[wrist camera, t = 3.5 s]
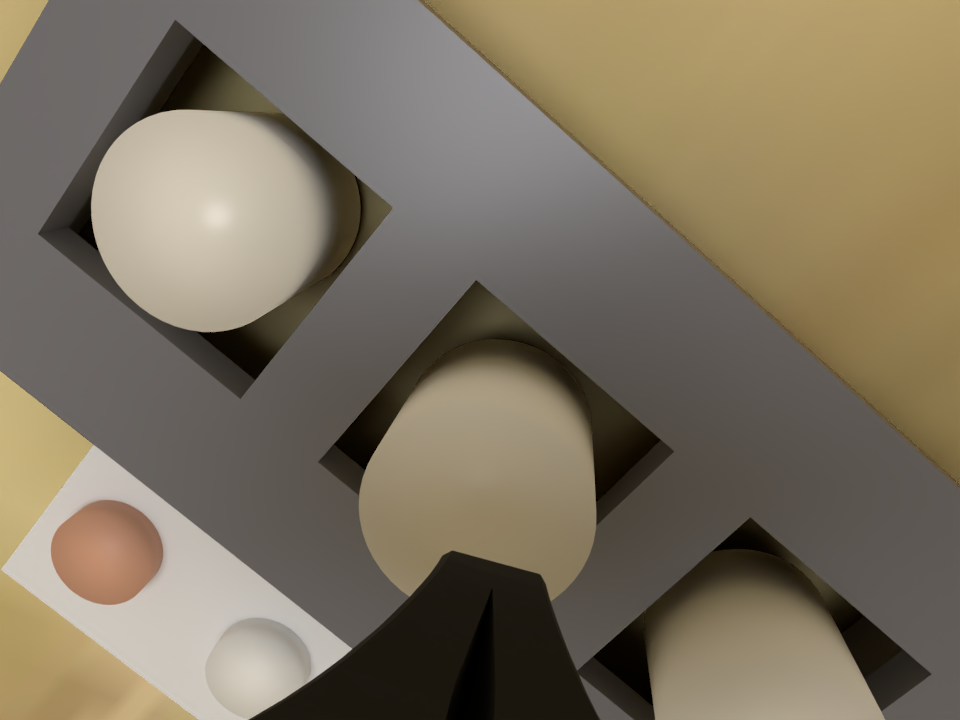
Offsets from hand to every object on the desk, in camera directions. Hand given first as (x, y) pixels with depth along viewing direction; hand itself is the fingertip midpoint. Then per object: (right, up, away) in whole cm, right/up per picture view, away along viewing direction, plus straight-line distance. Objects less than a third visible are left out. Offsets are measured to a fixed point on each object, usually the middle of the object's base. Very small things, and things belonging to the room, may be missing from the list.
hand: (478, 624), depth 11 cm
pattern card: (-6, -4, +12) cm, 14 cm away
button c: (-5, +7, +8) cm, 11 cm away
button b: (0, +2, +6) cm, 7 cm away
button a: (+6, -2, +7) cm, 9 cm away
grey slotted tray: (+1, +3, +9) cm, 9 cm away
